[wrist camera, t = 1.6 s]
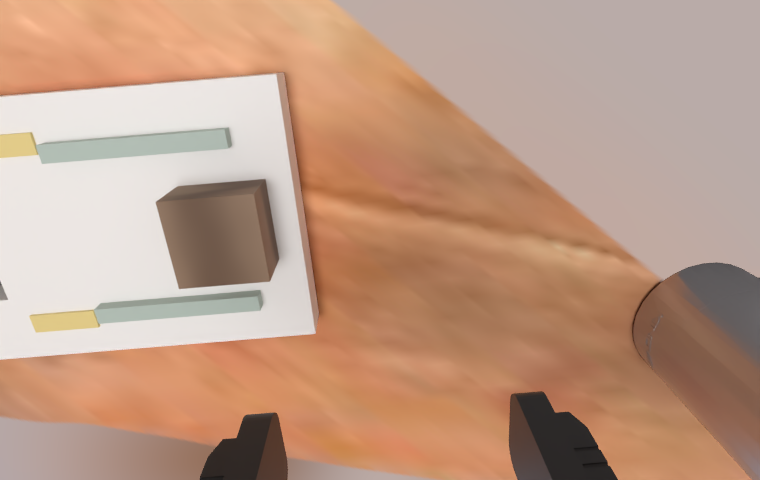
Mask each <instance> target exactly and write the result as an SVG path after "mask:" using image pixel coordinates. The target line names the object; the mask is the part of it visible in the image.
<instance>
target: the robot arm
mask: <svg viewBox="0 0 760 480" xmlns="http://www.w3.org/2000/svg"><path fill="white" fill-rule="evenodd" d="M633 338H634V342H635V346H636V349H637V350H638V352H639V354H640V356H641V357H642V358H643V359H644V360H645V361H646V362H647V364H648V365H649V366H650V367H651V368H652V369H653V370H654V371H655V372H656V373H657V375H658V376H659V377H660V378H661V379H662V380H663V381H664V382H665V383H666V385H667V386H668V387H669V388H670V389H671V390H672V391H673V393H674V394H675V395H676V396H677V397H678V398H679V399H680V400H681V401H682V403H683V404H684V405H685V406H686V407H687V408H688V409H689V410H690V411H691V413H692V414H693V415H694V416H695V417H696V418H697V419H698V420H699V421H700V422H701V424H702V425H703V426H704V427H705V428H706V429H707V430H708V431H709V432H710V434H711V435H712V436H713V437H714V438H715V439H716V440H717V441H718V442H719V443H720V445H721V446H722V447H723V448H724V449H725V450H726V451H727V452H728V453H729V455H730V456H731V457H732V458H733V459H734V460H735V461H736V462H737V463H738V464H739V466H740V467H741V468H742V469H743V470H744V471H745V472H746V473H747V474H748V476H749V477H750V478H751V479H752V480H760V278H757V277H755V276H754V275H752V274H750V273H748V272H747V271H745V270H743V269H741V268H739V267H736V266H733V265H731V264H723V263H706V264H700V265H696V266H692V267H688V268H686V269H684V270H681V271H679V272H677V273H675V274H674V275H672V276H670V277H669V278H667V279H665V280H664V281H662V282H661V283H660V284H659V285H658V286H657V287H656V288H655V289H654V290H652V291H651V293H650V294H649V295H648V296H647V298H646V299H645V300H644V302H643V303H642V305H641V307H640V309H639V311H638V313H637V315H636V319H635V322H634V328H633ZM509 448H510V455H511V460H512V464H513V468H514V470H515V473H516V476H517V479H518V480H618V479H617V477H616V476H615V474H614V472H613V471H612V469H611V467H610V466H608V463H607V460H606V459H605V457H604V455H603V454H602V452H601V450H599V449H598V445H597V443H596V442H595V440H594V438H593V437H592V435H591V433H590V432H589V430H588V428H587V427H586V426H585V425H584V424H583V423H581V422H580V421H579V420H578V419H577V418H575V417H574V416H573V415H572V414H571V413H570V412H560V413H555V412H554V410H553V408H552V406H551V404H550V402H549V400H548V398H547V397H546V395H545V394H544V392H542V391H541V392H529V393H516V394H512V395H511V399H510V425H509ZM287 468H288V467H287V457H286V452H285V447H284V442H283V437H282V432H281V428H280V423H279V418H278V415H277V413H264V414H251V415H245V417H244V418H243V421H242V424H241V427H240V430H239V433H238V436H237V438H233V439H223V440H222V441H221V442H220V444H219V445H218V446H217V447H216V448H215V449H214V451H213V452H212V453H211V454H210V456H209V457H208V458H207V461H206V463H205V466H204V468H203V471H202V474H201V476H200V480H287V474H288V469H287Z"/></svg>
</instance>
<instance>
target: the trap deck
mask: <svg viewBox="0 0 760 480" xmlns="http://www.w3.org/2000/svg"><path fill="white" fill-rule="evenodd" d="M259 179H266V185H267V191H268V197H269V202H270V208H271V214H272V220H273V225H274V231H275V237H276V243H277V248H278V254H279V261H278V264H277V266H276V268H275V271H274V273H273V276H272V278H271V280H270V282H260V283H248V284H236V285H223V286H211V287H199V288H187V289H179V287H178V284H177V280H176V276H175V273H174V269H173V265H172V261H171V258H170V254H169V250H168V247H167V243H166V239H165V236H164V232H163V228H162V224H161V221H160V217H159V213H158V210H157V206H156V201H158V200H159V199H160V198H162V197H163V196H165V195H166V194H167V193H169V192H170V191H172V190H173V189H174V188H176V187H177V186H186V185H198V184H210V183H222V182H234V181H247V180H259ZM318 317H319V310H318V303H317V296H316V289H315V282H314V275H313V268H312V261H311V255H310V248H309V241H308V234H307V227H306V220H305V213H304V206H303V199H302V193H301V186H300V179H299V172H298V165H297V158H296V151H295V144H294V138H293V131H292V124H291V117H290V110H289V103H288V96H287V89H286V82H285V76H284V72H281V73H268V74H256V75H244V76H232V77H220V78H208V79H196V80H184V81H171V82H159V83H147V84H135V85H123V86H111V87H99V88H87V89H74V90H62V91H50V92H38V93H26V94H14V95H2V96H0V360H1V359H13V358H26V357H38V356H50V355H62V354H75V353H87V352H99V351H111V350H123V349H136V348H148V347H160V346H172V345H185V344H197V343H209V342H221V341H234V340H246V339H258V338H270V337H283V336H295V335H307V334H316V329H317V323H318Z"/></svg>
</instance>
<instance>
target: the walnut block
mask: <svg viewBox="0 0 760 480" xmlns="http://www.w3.org/2000/svg"><path fill="white" fill-rule="evenodd" d="M156 206H157V210H158V213H159V217H160V221H161V224H162V228H163V232H164V236H165V239H166V243H167V247H168V250H169V254H170V258H171V261H172V265H173V269H174V273H175V276H176V280H177V284H178V287H179V289H187V288H199V287H211V286H223V285H236V284H248V283H260V282H270V280H271V278H272V276H273V273H274V271H275V268H276V266H277V264H278V261H279V254H278V248H277V243H276V237H275V231H274V225H273V220H272V214H271V208H270V202H269V197H268V191H267V185H266V179H259V180H247V181H234V182H222V183H210V184H198V185H186V186H177V187H176V188H174V189H173V190H172V191H170V192H169V193H167V194H166V195H165V196H163V197H162V198H160V199H159V200H158V201H156Z"/></svg>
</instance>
